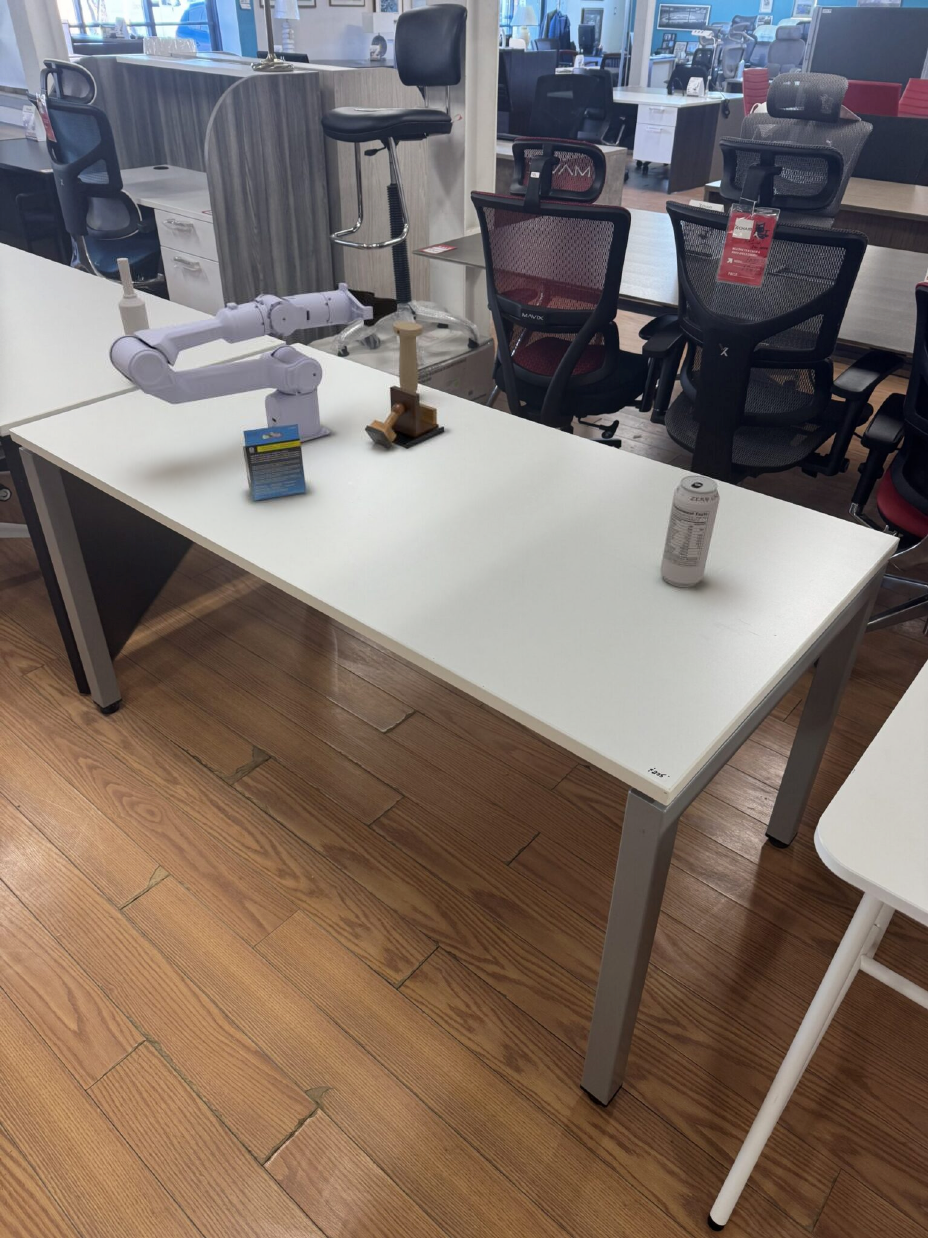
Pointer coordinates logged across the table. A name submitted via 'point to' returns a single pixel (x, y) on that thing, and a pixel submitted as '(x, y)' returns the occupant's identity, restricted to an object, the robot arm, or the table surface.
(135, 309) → the bottle
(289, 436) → the blue product box
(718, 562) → the table surface
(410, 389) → the handle
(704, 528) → the energy drink can
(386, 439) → the stamp
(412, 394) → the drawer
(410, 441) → the track
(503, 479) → the table surface
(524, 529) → the table surface
